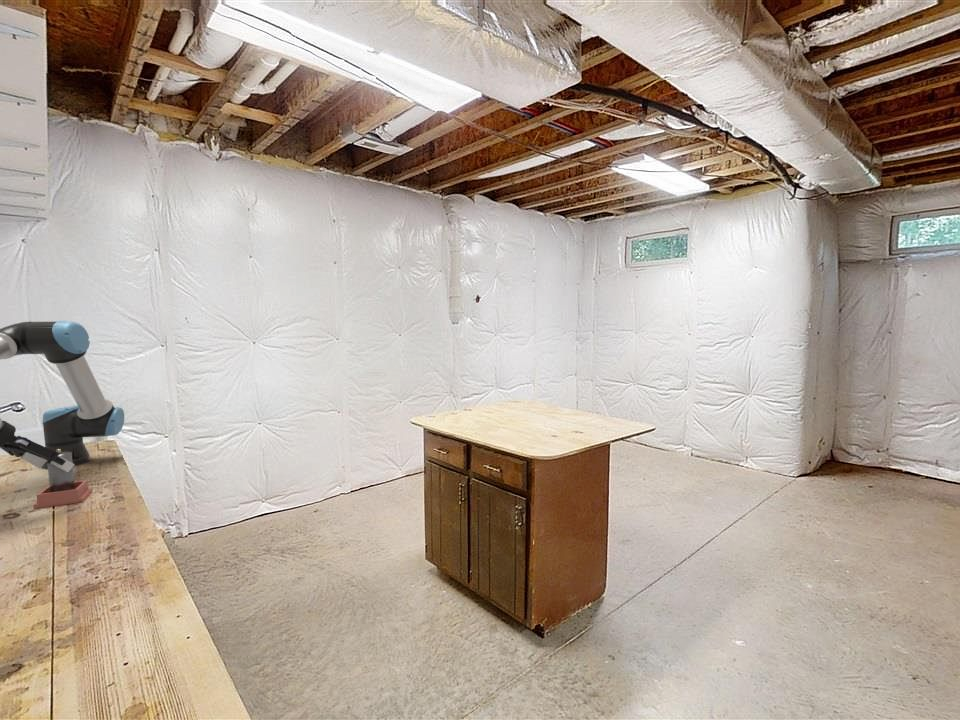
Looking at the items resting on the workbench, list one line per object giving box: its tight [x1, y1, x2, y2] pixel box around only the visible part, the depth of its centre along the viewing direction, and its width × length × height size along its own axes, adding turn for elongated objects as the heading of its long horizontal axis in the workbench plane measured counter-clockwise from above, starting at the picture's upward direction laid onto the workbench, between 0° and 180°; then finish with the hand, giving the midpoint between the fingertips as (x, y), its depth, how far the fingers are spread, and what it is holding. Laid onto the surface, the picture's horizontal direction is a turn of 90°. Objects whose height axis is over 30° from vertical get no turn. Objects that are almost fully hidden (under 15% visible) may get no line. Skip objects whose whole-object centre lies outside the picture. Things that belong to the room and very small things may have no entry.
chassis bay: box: [32, 479, 93, 510], centre depth 152 cm, size 10×12×4 cm
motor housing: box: [47, 449, 76, 493], centre depth 151 cm, size 6×6×16 cm
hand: (56, 466), depth 149 cm, fingers open, 13 cm apart
